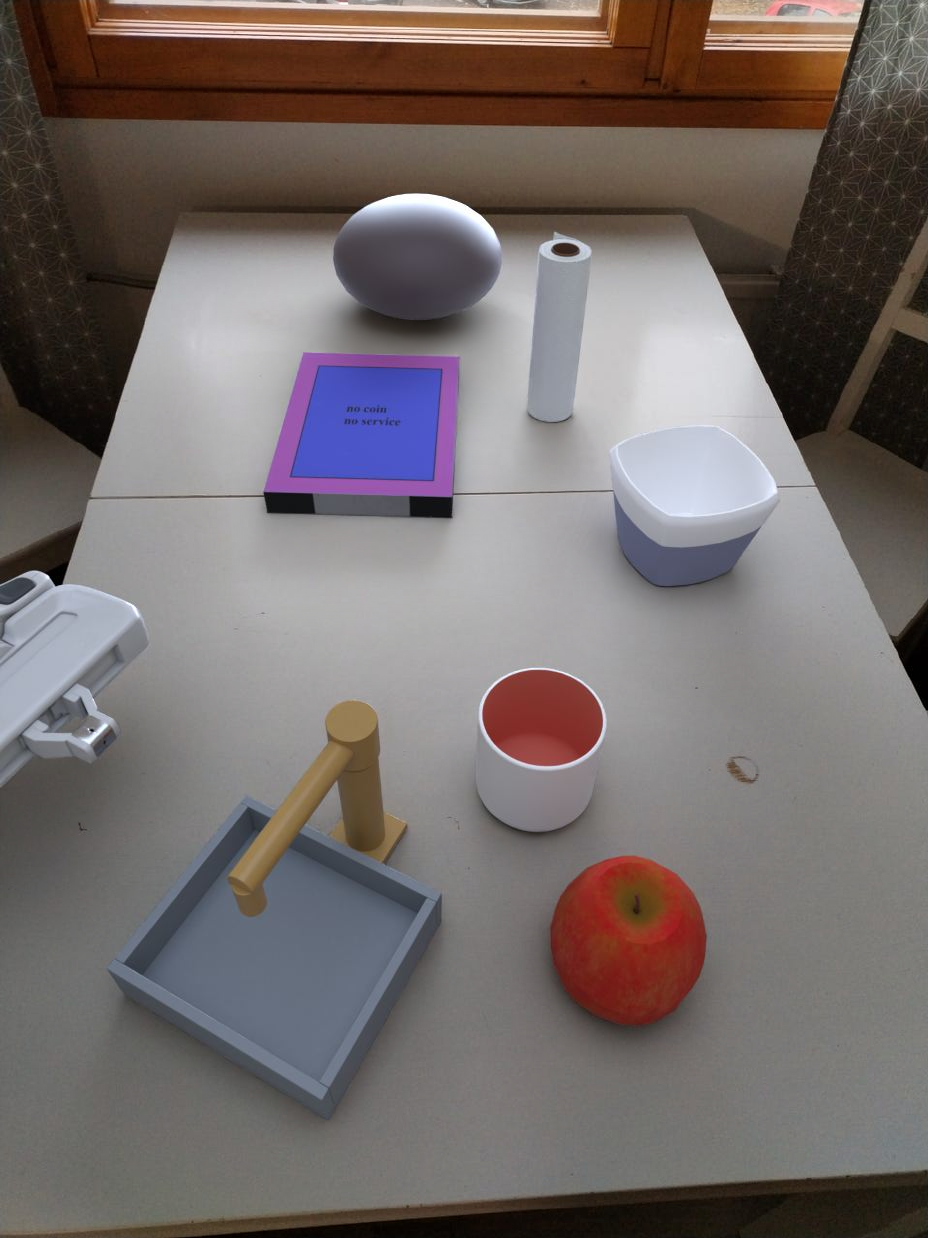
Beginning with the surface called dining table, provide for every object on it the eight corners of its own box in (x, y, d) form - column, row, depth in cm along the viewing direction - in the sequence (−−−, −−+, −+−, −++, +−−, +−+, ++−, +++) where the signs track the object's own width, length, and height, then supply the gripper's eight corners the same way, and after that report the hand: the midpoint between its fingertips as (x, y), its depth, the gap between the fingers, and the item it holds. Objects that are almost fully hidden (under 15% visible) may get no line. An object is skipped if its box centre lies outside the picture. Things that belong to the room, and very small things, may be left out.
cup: (609, 767, 78) (625, 695, 71) (563, 858, 72) (577, 790, 65) (506, 723, 81) (512, 650, 74) (454, 807, 75) (455, 737, 68)
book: (263, 491, 99) (303, 351, 120) (267, 512, 101) (305, 371, 122) (452, 497, 99) (459, 356, 119) (452, 517, 101) (459, 376, 122)
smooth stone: (335, 349, 126) (325, 244, 115) (338, 269, 143) (329, 171, 132) (508, 344, 128) (514, 240, 117) (491, 265, 145) (494, 168, 134)
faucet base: (376, 877, 71) (366, 794, 62) (323, 850, 72) (306, 765, 63) (408, 827, 74) (403, 742, 65) (356, 803, 75) (345, 716, 66)
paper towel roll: (562, 428, 113) (581, 264, 98) (519, 416, 115) (530, 253, 100) (582, 400, 118) (603, 239, 102) (540, 389, 120) (554, 228, 104)
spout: (268, 928, 56) (256, 893, 52) (221, 903, 57) (207, 867, 53) (390, 750, 65) (387, 711, 62) (348, 732, 66) (343, 692, 63)
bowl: (701, 495, 105) (722, 413, 97) (772, 581, 95) (803, 499, 87) (581, 520, 101) (593, 438, 93) (642, 613, 91) (661, 530, 83)
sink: (328, 1121, 59) (321, 1100, 55) (122, 994, 64) (105, 968, 61) (442, 920, 68) (441, 893, 65) (254, 824, 74) (246, 794, 70)
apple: (675, 893, 70) (704, 821, 62) (707, 1037, 63) (744, 976, 55) (539, 897, 70) (551, 826, 62) (555, 1043, 62) (570, 983, 54)
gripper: (-191, 747, 57) (-36, 839, 52) (50, 556, 69) (191, 617, 65) (-143, 800, 61) (3, 889, 57) (74, 612, 74) (207, 673, 70)
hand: (105, 742), depth 61 cm, fingers closed
